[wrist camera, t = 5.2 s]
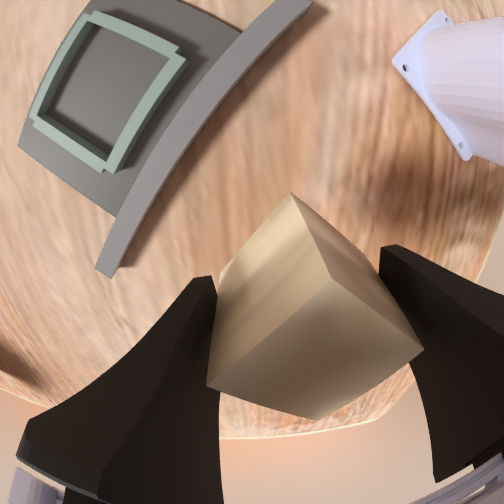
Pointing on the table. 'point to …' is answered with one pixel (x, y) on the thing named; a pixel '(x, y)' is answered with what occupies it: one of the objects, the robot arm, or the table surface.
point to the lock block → (304, 319)
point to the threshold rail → (194, 124)
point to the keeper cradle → (118, 91)
